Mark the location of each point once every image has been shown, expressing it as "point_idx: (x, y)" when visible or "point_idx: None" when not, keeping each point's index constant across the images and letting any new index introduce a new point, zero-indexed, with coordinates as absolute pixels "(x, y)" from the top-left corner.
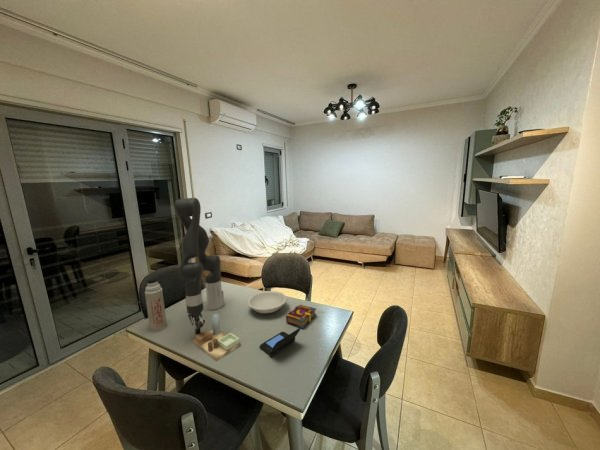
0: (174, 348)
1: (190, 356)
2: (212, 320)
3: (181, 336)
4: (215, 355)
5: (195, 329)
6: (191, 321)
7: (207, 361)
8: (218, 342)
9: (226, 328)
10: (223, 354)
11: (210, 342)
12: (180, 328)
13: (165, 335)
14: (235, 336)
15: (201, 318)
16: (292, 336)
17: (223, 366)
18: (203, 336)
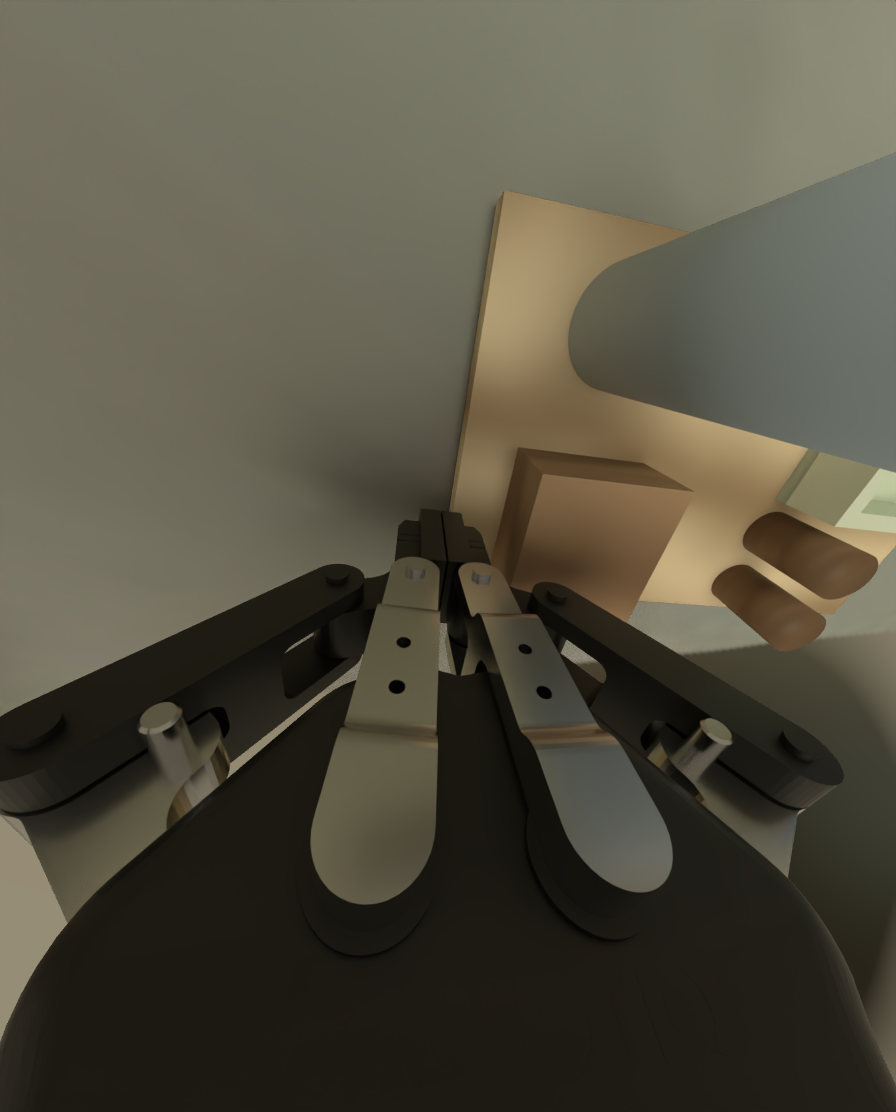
0: None
1: (576, 660)
2: (852, 459)
3: (231, 576)
4: (812, 598)
5: (442, 613)
6: (305, 701)
7: (739, 630)
8: (820, 516)
9: (650, 6)
10: (879, 552)
11: (798, 624)
12: (7, 499)
13: (85, 642)
14: None
15: (784, 867)
16: None
17: (890, 604)
18: (618, 587)
